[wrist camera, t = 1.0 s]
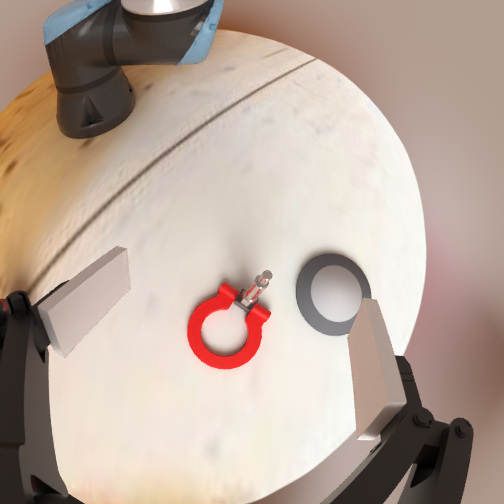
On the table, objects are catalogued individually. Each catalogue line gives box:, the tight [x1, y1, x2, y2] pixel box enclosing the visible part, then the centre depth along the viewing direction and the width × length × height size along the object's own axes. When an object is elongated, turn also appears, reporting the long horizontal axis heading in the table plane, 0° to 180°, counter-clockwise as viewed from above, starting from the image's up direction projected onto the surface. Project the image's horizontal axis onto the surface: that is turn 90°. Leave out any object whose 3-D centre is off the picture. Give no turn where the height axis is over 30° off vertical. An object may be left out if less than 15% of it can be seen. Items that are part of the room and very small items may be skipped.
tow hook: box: [187, 270, 272, 369], centre depth 26 cm, size 8×13×9 cm
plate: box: [296, 254, 371, 336], centre depth 35 cm, size 11×11×1 cm
